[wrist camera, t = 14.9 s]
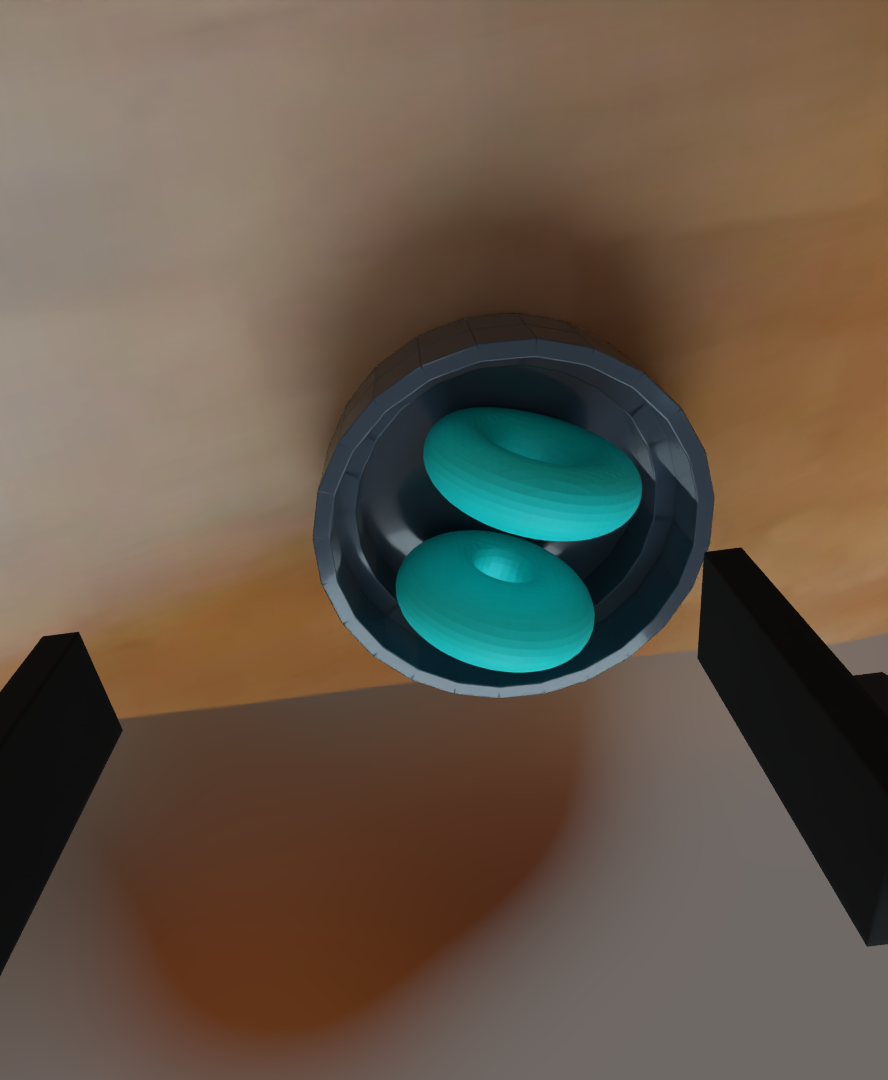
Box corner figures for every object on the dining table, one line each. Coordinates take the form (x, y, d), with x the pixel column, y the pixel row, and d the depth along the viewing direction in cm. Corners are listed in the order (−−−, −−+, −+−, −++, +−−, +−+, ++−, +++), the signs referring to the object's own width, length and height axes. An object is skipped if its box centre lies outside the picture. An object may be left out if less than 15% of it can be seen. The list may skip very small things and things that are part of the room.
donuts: (391, 558, 40) (389, 670, 31) (426, 385, 35) (435, 457, 26) (561, 584, 41) (606, 698, 32) (616, 421, 37) (685, 502, 28)
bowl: (678, 293, 35) (734, 318, 29) (656, 610, 43) (695, 678, 37) (298, 330, 34) (278, 363, 29) (353, 641, 43) (346, 714, 37)
